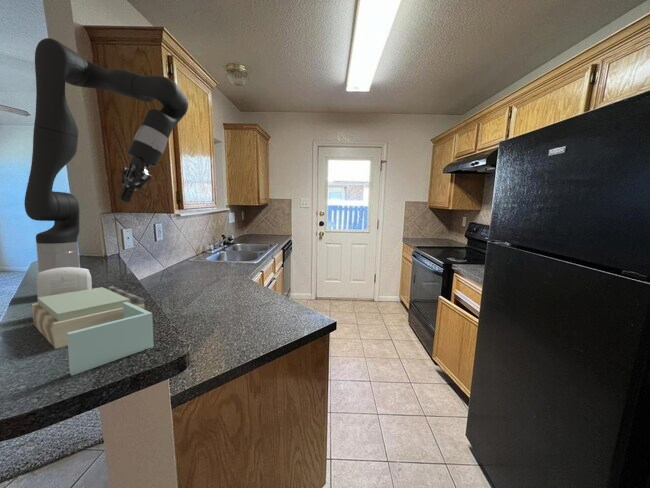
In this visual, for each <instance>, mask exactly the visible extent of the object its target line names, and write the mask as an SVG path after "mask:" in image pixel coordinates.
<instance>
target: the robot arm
mask: <svg viewBox="0 0 650 488" xmlns="http://www.w3.org/2000/svg"><path fill="white" fill-rule="evenodd" d="M34 69H35V70H34V72H35V86H36V88H35V90H36V91H35V92H36V93H35V94H36V97H35V98H36V99H35V116H34V123H33V134H32V153H31V154H32V155H31V165H30V166H31V167H30V172H29V176H28V182H27V185H26V191H25V194H24V195H25V196H24V210H25V214H26V215H27V216H28V217H29V219H31V220H33V221H38V222H54V224H53V226H51V228H49V229H47V230H44V231H40V232H39V233H37V234H36V235H35V243H36V245H35V246H36V254H37V268H38V273H40V272H43V271H46V270H50V269H55V268H62V267H77V268H80V257H79V256H80V255H79V246H78V245H79V243H78V237H79V234H80V205H79V201H78V199H77V198H76V196H75V195H74V194H71V193H70V192H63V191H62V192H61V191H53V187H54V186H53V185H54V183H55V180H56V177H57V176H58V174H59V173H60V172H61V170H62V169H63V168H64V167H65V166H66V165H68V163H69V162H70V161H71V160H72V159H73V158H74V157H75V156H76V154H77V151H78V142H79V128H78V125H77V123H76V120H75V118H74V116H73V114H72V111H71V110H70V108H69V107H70V106H69V105H68V101H67V97H66V83H67V84H69V85H71V86H74V87H80V88H88V89H96V90H102V91H108V92H110V93H111V92H112V93H115V94H118V95H121V96H123V97H128V98H130V99H134V100H138V101H140V102H145V103H152V102H154V101H155V100H157V101H158V102H159V103H160V104H161V105H162V107H161V109H160V110H159V109H156V108H155V109H154V108H151V109H149V110H148V112H147V113H146V115H145V117H144V119H143V121H142V123H141V125H140V127H139V129H138V130H137V132H136V133H135V135H134V138H133V140H132V142H131V143H130V146H129V149H127V155H128V156H129V157H131V158H132V159H131V161H130V162H129V163H128V164H127V166H126V167H125V166H123V167H122V169H121V171H122V173H121V181H120V182H121V183H120V184H121V185H122V189H121V192H120V194H119V196H118V199H119V200H121V201H123V202H126V203H129V202H130V201H131V200H132V199H131V198H132V196H133V194H134V192H136V191H137V190H140V189H142V187H144V185H146V183H147V182H149V180H150V179H151V178H152V174H150V172H149V171H150V169H151V167H153V168H156V167H158V165H159V163H160V161H161V158H162V156H163V154H164V152H165V150H166V147H167V144H168V141H169V138H170V136H171V135H172V131H173V129H174V128H175V126H177V124H178V123H179V122H180V121H181V120H182V119H183V118H184V117H185V115H186V114H187V112H188V110H189V101H188V98H187V96H186V95H185V93H184V92H183V91H182V89H181V88H180V86H179V85H178V84H177V83H176V82H175V81H174V80H172V79H170V78H168V77H166V76H163V75H162V76H161V75H143V74H140V73H137V72H134V71H130V70H127V69H122V68H105V67H103V66H100V65H97V64H95V63H93V62H92V61H89V60H87V59H86V58H84V57H83V56H82V55H81V54H79V53H77V52H76V51H74V50H73V49H71V48H70V47H69V46H67V45H64V44H63V43H62V42H60V41H58V40H56V39H54V38H49V37H46V38H43V39H41V40H40V41H39V42H38V43H37V46H36V48H35V52H34Z"/></svg>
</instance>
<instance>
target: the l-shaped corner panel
mask: <svg viewBox="0 0 650 488" xmlns="http://www.w3.org/2000/svg"><path fill="white" fill-rule="evenodd" d="M123 318H124V319H120V320H116V321H112V322H108V323H104V324H100V325H96V326H92V327H88V328H84V329H80V330H76V331H72V332H68V333H67V341H68V346H67V351H68V352H67V353H68V367H69V368H68V369H69V375H70V376H75V375H77V374H80V373H83V372H86V371H90V370H92V369H95V368H97V367H100V366H103V365H105V364H109V363H110V362H111V363H112V362H114V361H117V360H119V359H123V358H125V357H128V356H132V355H134V354H137V353H140V352H143V351H146V350H149V349H151V348H153V347H154V325H153V324H154V323H153V321H154V320H153V313H152V312H151V311H148V310H147V309H145V310H144V309H142V308H140V307H138V306H135V305H133V304H131V303H129V302H124V303H123ZM145 349H146V350H145Z"/></svg>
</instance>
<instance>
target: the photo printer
mask: <svg viewBox="0 0 650 488" xmlns="http://www.w3.org/2000/svg"><path fill="white" fill-rule="evenodd" d="M92 283H93V282H92V275H91V273H90V269H88V268H83V267H79V268H77V267H62V268H55V269H50V270H46V271H43V272H40V273H39V272H38V273H37V277H36V291H37V292H36V293H37V298H38V297H45V296H51V295H57V294H63V293H69V292H76V291H82V290H88V289H93V287H92V286H93V285H92Z"/></svg>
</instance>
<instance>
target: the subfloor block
mask: <svg viewBox="0 0 650 488" xmlns="http://www.w3.org/2000/svg"><path fill="white" fill-rule="evenodd" d="M107 289H108V290H110V291H112V292H115V293H117V294H119V295H122V296H124V297H126V298H129V299H130V303H131V304H133V305H135V306H138V307H140V308H142V309H144V310H146V308H145V298H144V297H142V296H141V297H140V296H138V295H136V294H133V293H131V292H128V291H126V290H123V289H120V288H118V287H116V286H114V285H111V286H108V288H107ZM31 309H32V321H33V322H32V323H33V325H34V327H35V328H36V329H37V330H38V331H39V333H40V334H41V335H42V336H43V337H44V338H45V339H46V340H47V341H48V342H49V343H50V344H51V346H52V347H53V348H54V349H55V350H57V349H61V348H64V347H68V341H67V333H68V332H72V331H76V330H80V329H84V328H88V327H92V326H96V325H100V324H104V323H108V322H112V321H116V320H120V319H124V318H123V307H121V308H116V309H112V310H107V311H103V312H98V313H94V314H89V315H85V316H80V317H76V318H71V319H67V320H62V321H57V320H56V319H55V318H54V317H53V316H51V315H50V314H49V313H48V312H47V311H46V310H44V309H43V308H42V307H41V306H40V305H39V304H38V302H36V303H32V304H31Z"/></svg>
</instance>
